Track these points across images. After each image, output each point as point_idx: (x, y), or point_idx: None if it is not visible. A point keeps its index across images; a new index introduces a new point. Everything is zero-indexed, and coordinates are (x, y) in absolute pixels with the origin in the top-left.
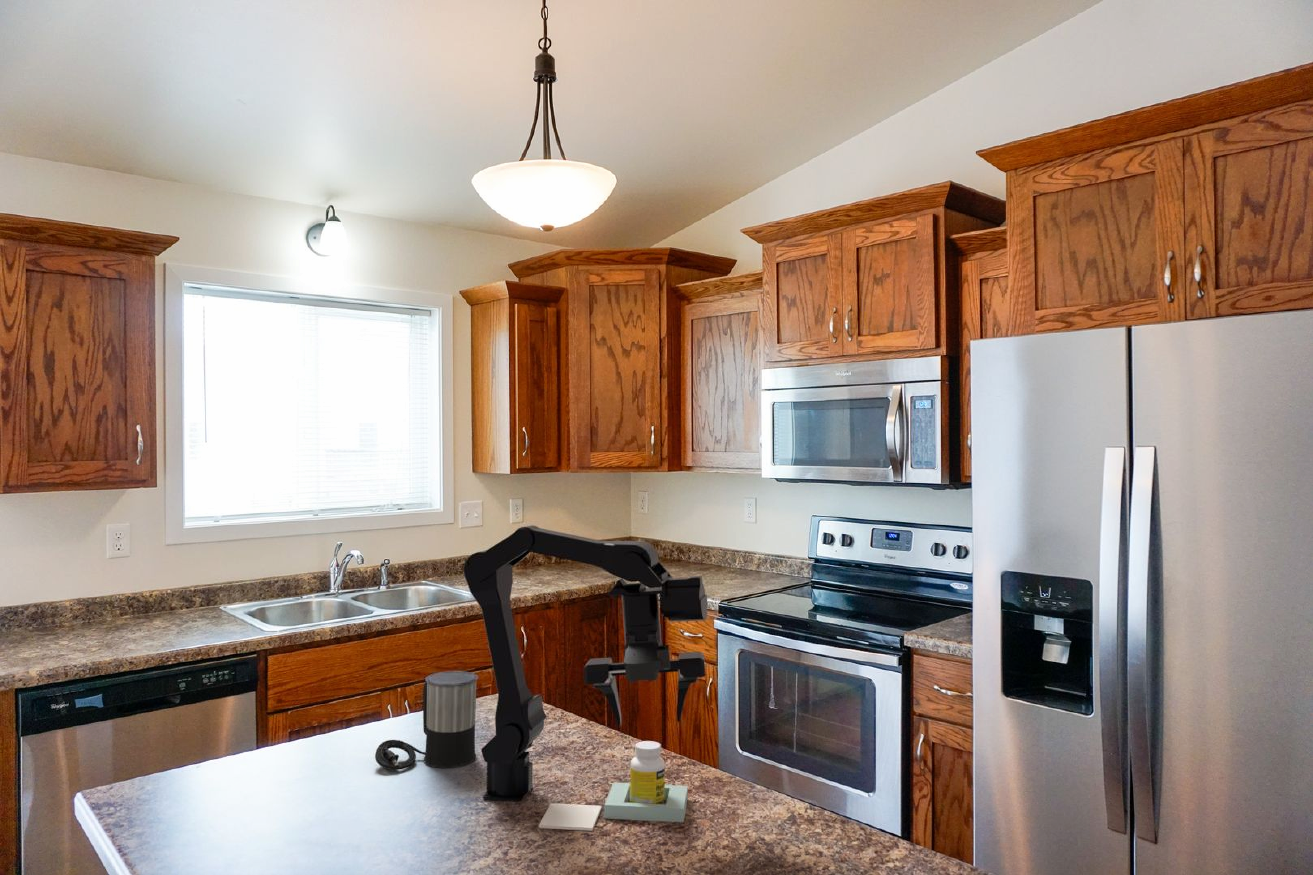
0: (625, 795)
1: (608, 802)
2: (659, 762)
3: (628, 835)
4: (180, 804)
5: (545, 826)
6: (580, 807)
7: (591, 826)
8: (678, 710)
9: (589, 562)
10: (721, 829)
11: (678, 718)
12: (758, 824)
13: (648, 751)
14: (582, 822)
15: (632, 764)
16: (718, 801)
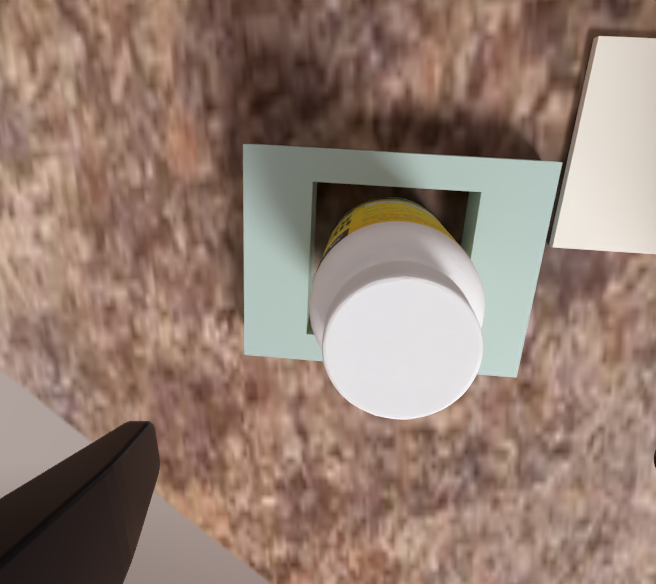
0: (472, 259)
1: (543, 188)
2: (332, 277)
3: (452, 7)
4: None
5: None
6: (634, 227)
7: (601, 51)
8: (70, 482)
9: None
10: (122, 93)
11: (124, 434)
12: (9, 145)
13: (397, 272)
14: (636, 87)
15: (477, 273)
16: (156, 318)
